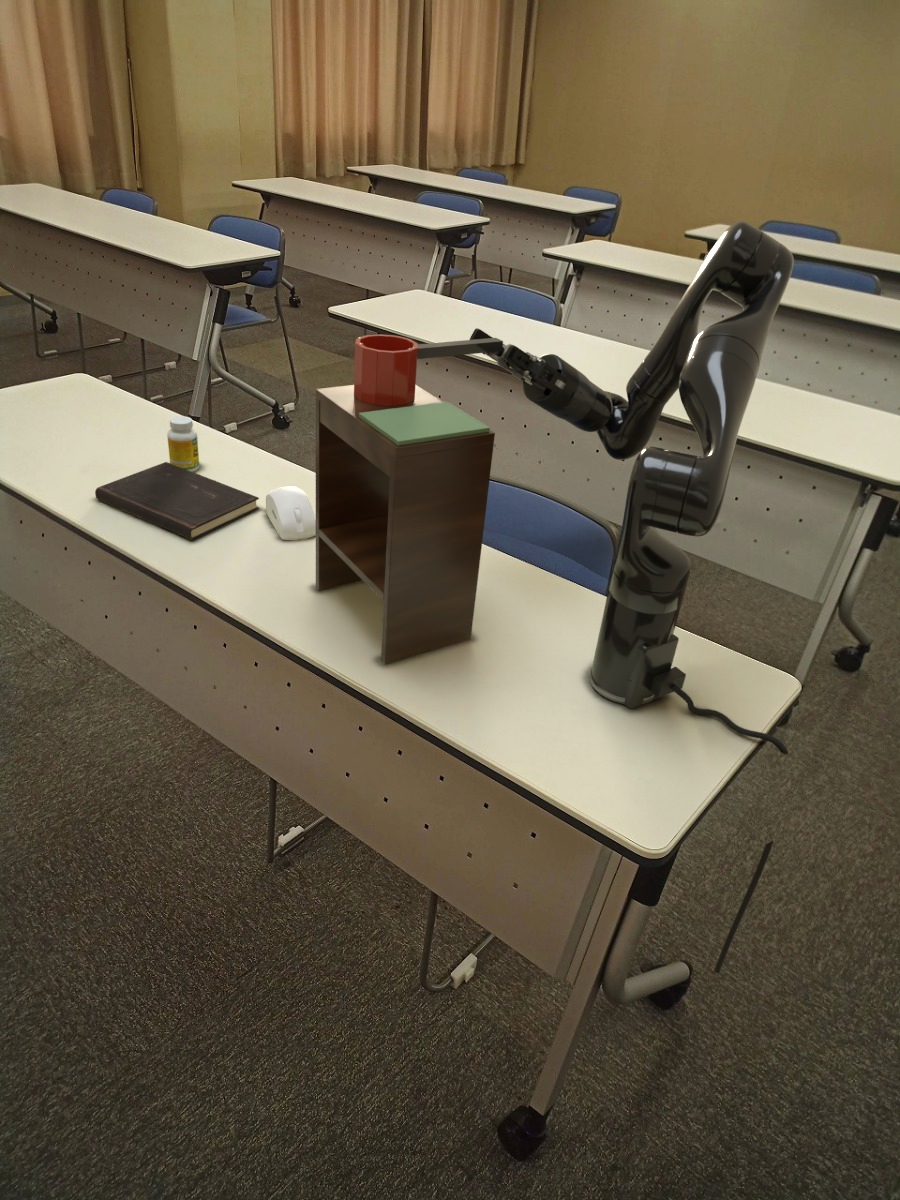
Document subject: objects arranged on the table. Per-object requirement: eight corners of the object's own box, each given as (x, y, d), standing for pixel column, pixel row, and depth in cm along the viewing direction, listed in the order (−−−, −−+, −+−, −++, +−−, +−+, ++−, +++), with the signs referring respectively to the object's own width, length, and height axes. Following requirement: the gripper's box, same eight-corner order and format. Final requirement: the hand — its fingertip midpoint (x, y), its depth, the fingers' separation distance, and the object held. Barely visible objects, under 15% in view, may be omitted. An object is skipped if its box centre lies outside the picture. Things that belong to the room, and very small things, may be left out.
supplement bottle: (171, 462, 163) (166, 414, 158) (200, 462, 165) (196, 414, 159) (169, 473, 159) (164, 425, 154) (199, 473, 160) (195, 425, 155)
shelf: (470, 639, 121) (495, 433, 104) (384, 664, 114) (396, 448, 98) (395, 568, 136) (406, 378, 120) (315, 587, 129) (315, 388, 113)
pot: (510, 391, 119) (517, 341, 115) (371, 409, 108) (373, 354, 104) (479, 374, 124) (484, 326, 121) (343, 389, 114) (344, 336, 110)
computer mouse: (281, 543, 140) (280, 508, 137) (262, 509, 150) (261, 476, 146) (319, 538, 142) (319, 504, 139) (298, 505, 152) (297, 473, 149)
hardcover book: (167, 473, 159) (166, 461, 158) (259, 509, 150) (258, 497, 148) (95, 500, 147) (94, 488, 146) (191, 541, 138) (189, 529, 136)
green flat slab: (489, 432, 105) (490, 427, 104) (398, 446, 98) (398, 441, 98) (446, 405, 111) (446, 401, 111) (358, 417, 105) (358, 412, 105)
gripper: (544, 353, 133) (475, 305, 122) (604, 381, 123) (535, 331, 112) (519, 396, 135) (449, 352, 123) (577, 427, 125) (506, 382, 114)
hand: (490, 342), depth 118 cm, fingers open, 8 cm apart
